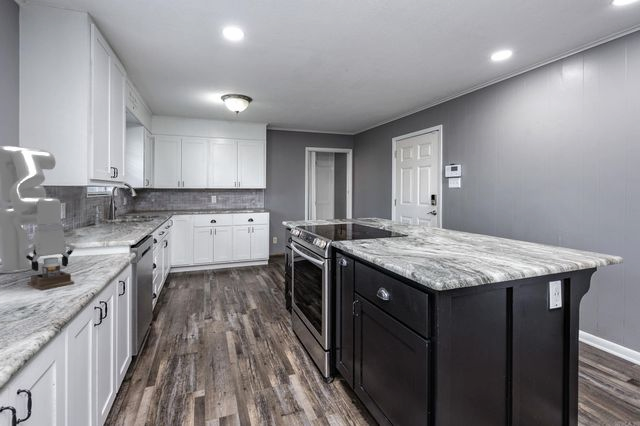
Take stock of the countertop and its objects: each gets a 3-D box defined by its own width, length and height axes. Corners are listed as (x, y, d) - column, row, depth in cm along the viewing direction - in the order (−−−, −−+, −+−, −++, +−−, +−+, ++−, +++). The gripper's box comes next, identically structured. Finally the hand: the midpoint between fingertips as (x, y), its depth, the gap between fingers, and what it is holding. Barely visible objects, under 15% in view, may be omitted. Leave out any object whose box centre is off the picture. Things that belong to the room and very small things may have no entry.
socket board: (27, 284, 129) (27, 275, 129) (59, 278, 139) (59, 269, 138) (41, 290, 122) (40, 280, 122) (74, 283, 132) (74, 274, 131)
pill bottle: (49, 284, 127) (49, 260, 127) (38, 283, 128) (38, 259, 128) (63, 280, 133) (63, 257, 132) (53, 279, 134) (52, 256, 133)
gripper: (70, 225, 138) (71, 263, 139) (18, 229, 123) (19, 271, 125) (78, 226, 135) (79, 265, 136) (25, 230, 120) (26, 274, 121)
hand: (50, 268), depth 130 cm, fingers open, 9 cm apart
